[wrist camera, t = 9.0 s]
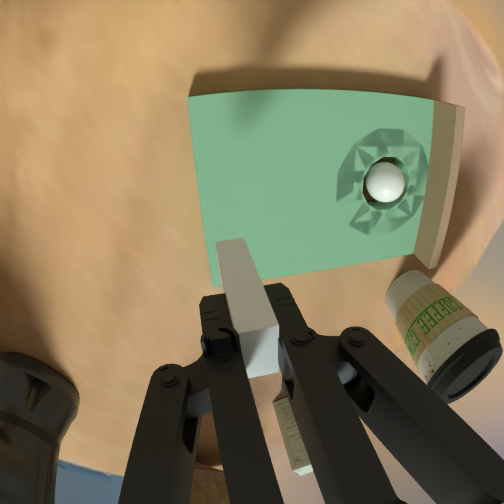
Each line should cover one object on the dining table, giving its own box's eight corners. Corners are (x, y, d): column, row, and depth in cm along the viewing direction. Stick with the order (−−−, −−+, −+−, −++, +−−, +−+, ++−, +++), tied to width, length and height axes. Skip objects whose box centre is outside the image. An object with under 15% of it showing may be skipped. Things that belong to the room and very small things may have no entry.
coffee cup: (386, 258, 32) (466, 356, 19) (444, 255, 34) (520, 332, 21) (363, 324, 37) (417, 419, 24) (419, 314, 39) (476, 392, 26)
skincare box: (279, 412, 45) (298, 477, 35) (271, 401, 43) (290, 471, 32) (316, 398, 45) (340, 462, 34) (311, 386, 42) (336, 456, 32)
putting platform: (211, 274, 29) (215, 309, 25) (188, 96, 20) (185, 99, 16) (411, 242, 31) (437, 267, 27) (429, 98, 23) (465, 107, 19)
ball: (365, 207, 25) (405, 210, 24) (369, 166, 23) (410, 171, 22) (362, 191, 28) (398, 194, 27) (365, 155, 26) (402, 159, 25)
